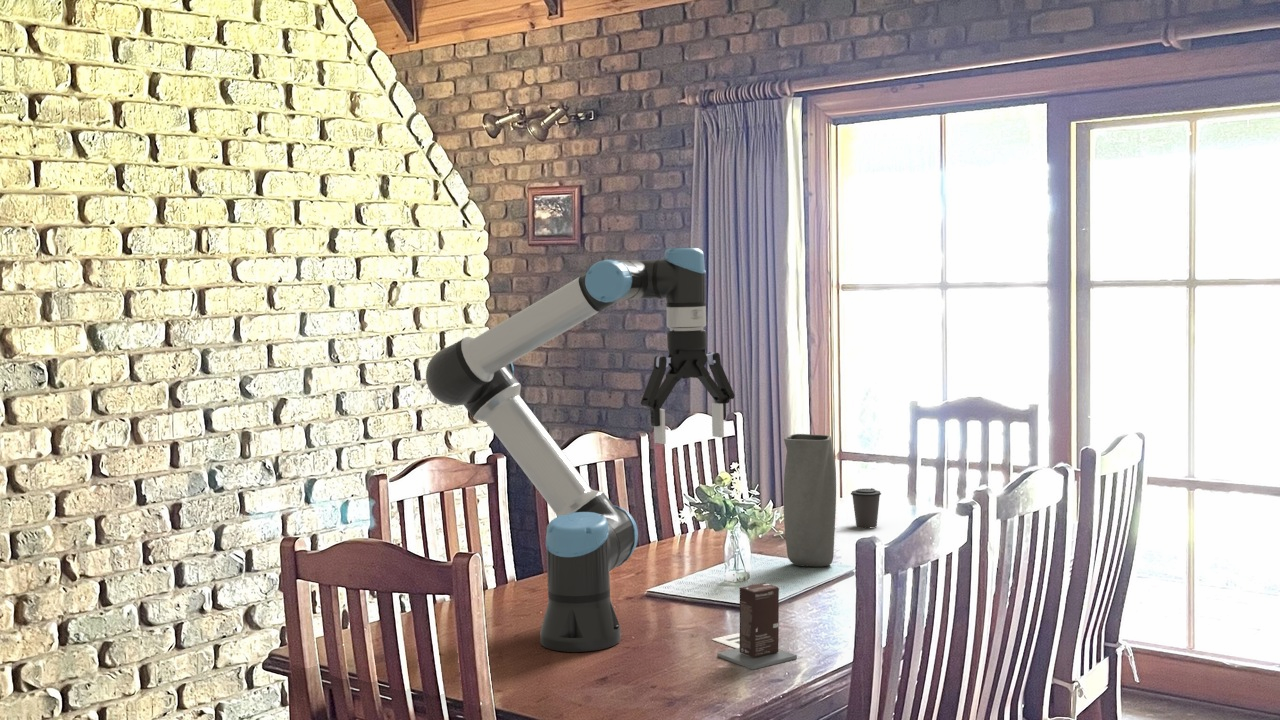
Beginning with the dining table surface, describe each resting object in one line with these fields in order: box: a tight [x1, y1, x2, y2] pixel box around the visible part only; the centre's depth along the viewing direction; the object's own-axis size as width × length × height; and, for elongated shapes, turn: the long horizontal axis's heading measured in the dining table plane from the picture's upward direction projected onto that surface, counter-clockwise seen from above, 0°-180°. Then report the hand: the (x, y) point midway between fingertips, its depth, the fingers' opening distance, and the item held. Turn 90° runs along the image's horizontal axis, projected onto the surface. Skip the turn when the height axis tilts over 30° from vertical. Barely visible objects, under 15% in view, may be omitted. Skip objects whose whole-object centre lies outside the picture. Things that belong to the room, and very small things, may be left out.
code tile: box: [711, 632, 740, 649], centre depth 239 cm, size 7×8×1 cm
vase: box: [782, 433, 837, 568], centre depth 300 cm, size 12×12×30 cm
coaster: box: [716, 648, 798, 670], centre depth 229 cm, size 10×10×1 cm
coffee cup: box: [850, 487, 882, 529], centre depth 343 cm, size 8×8×10 cm
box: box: [739, 582, 780, 658], centre depth 229 cm, size 6×4×12 cm
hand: (689, 440), depth 247 cm, fingers open, 13 cm apart
